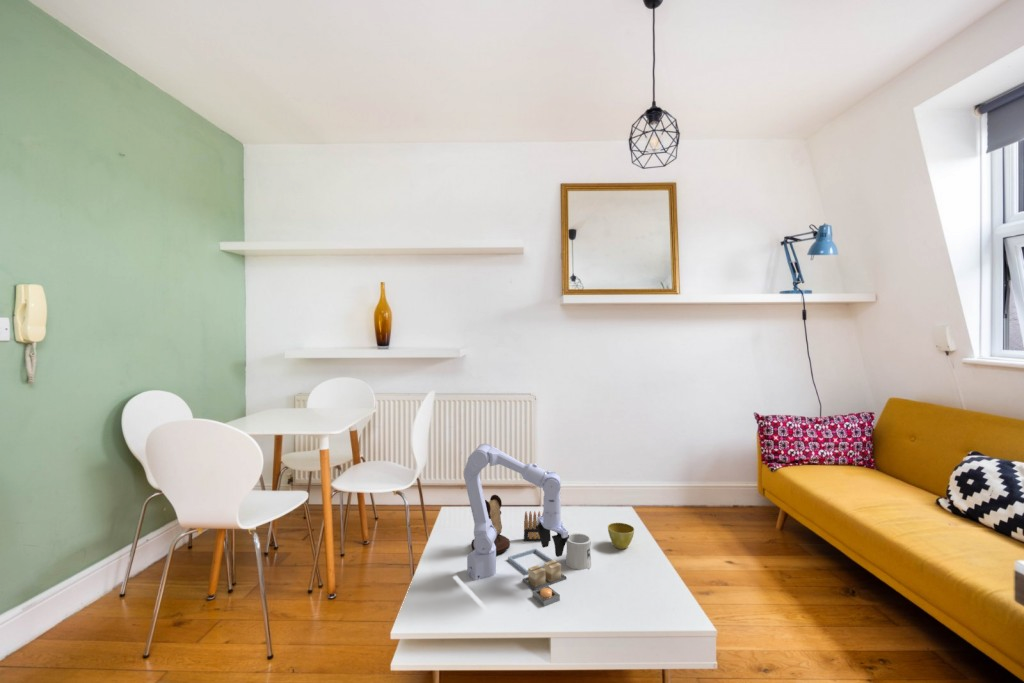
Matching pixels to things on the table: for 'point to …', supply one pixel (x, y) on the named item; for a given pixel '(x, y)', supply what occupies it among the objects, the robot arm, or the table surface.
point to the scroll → (496, 523)
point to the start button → (545, 592)
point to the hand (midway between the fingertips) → (552, 551)
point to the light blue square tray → (525, 555)
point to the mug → (578, 551)
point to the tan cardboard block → (552, 570)
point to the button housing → (547, 601)
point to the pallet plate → (545, 583)
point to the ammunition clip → (531, 528)
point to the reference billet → (536, 575)
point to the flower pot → (620, 534)
